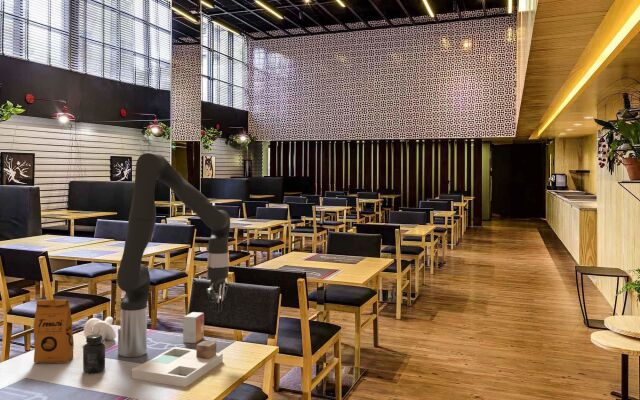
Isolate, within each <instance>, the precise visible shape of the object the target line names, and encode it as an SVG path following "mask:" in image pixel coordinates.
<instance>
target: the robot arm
mask: <svg viewBox="0 0 640 400" xmlns="http://www.w3.org/2000/svg"><path fill="white" fill-rule="evenodd" d="M134 173H135V174H134V175H135V176H134V189H133V195H132V200H131V206H130V211H129V215H128V223H127V229H126V234H125V241H124V247H123V252H122V257H121V259H120V264H119V268H118V271H117V275H116V283H117V286H118V288H119V289H120V290H121V291H123V292H125V295H124V297H122V299H121V300H120V322H119V324H120V327H119V328H118V329H117V354H118V355H120V356H121V357H123V358H137V357H141V356H143V355H145V354H147V349H148V348H147V347H148V346H147V342H148V340H147V339H148V337H147V336H148V335H147V334H148V333H147V331H148V330H147V329H148V317H147V316H148V315H147V314H148V312H147V311H148V310H147V309H148V301H149V298H150V288H151V282H150V281H151V276H150V271H149V269H148V267H147V266H146V265H145V264H142V259H143V257H144V253H145V251H146V249H147V247H148V245H149V243H150V241H151V239H152V237H153V234H154V230H155V225H156V219H157V209H156V202H155V188H156V183H157V180H158V181H160V182H161V183H163V184H164V185H166V186H167V187H168V188H169V189H171V191H172V192H173V193H174V195H175V196H176V197H177V199H178V200H180V202H181V203H183V204H184V205H185V206H186V207H187V208H188V209H189V210H190V211H192V212H193V213H194V214H196V215H197V216H198V218H200V220H201V221H202V222H203V223H204V224H205V226H207V227H208V228H210V229H211V232H210V233H211V235H210V237H209V239H208V245H207V246H208V247H207V248H208V249H207V250H208V251H207V252H208V254H207V265H206V266H207V271H206V272H207V273H206V274H207V275H206V276H207V278H208V279H210V282H209V288H206V289H205V293H206V296H207V299H208V300H209V302H210V303H212V312H213V313H214V314H218V313H220V312H222V311H223V301H224V299H226V297H227V292H228V290H229V285H230V283H229V282H227V281H226V279H228V278H229V235H230V231H231V230H230V229H231V216H230V215H229V212H227V211H226V210H223V209H217V207H215V206H214V205H213V204H212V203H211V201H210V199H209V198H208V197H206V196H205V194H203V193H202V192H201V191H200V190H198V189H197V188H196V187H195V186H193V185H192V184H191V183H189V182H188V181H187V180H186V179H185V178H184V177H183V176H182V175H181V174H180V173H178V171H177V170H176V169H175V168H174V167H173V166H172V165H171V163H170V162H169V161H168V160H167V159H166V157H165V156H164V155H162V154H160V153H156V152H144V153H142V154H140V156H138V158H137V159H136V163H135V172H134Z"/></svg>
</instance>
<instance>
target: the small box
mask: <svg viewBox="0 0 640 400" xmlns="http://www.w3.org/2000/svg"><path fill="white" fill-rule="evenodd" d="M182 319H183V320H182V321H183V322H182V323H183V326H182V327H183V328H182V343H188V344H189V343H190V344H197V343H199V341H201V340H202V338H203V337H205V332H204V329H205V313H204V312H196V311H192V312H190V313H188V314H186V315H184V316H183V318H182ZM203 339H204V338H203Z"/></svg>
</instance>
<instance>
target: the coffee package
mask: <svg viewBox="0 0 640 400" xmlns="http://www.w3.org/2000/svg"><path fill="white" fill-rule="evenodd" d="M35 304H36V306H35V312H34V315H35V316H34V321H33V341H34V342H33V346H34V353H33V363H39V364H40V363H46V364H47V363H48V364H60V363H61V364H67V363H68V362H70V361H71V360H73V359H74V350H75V349H74V347H75V345H74V343H75V342H74V332H73V318H72V314H71V313H72V312H71V306H70V302H69V299H36V303H35Z"/></svg>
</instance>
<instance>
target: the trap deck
mask: <svg viewBox="0 0 640 400" xmlns="http://www.w3.org/2000/svg"><path fill="white" fill-rule="evenodd" d="M222 363H223V353H222V352H216V355H215V356H214V357H212V358H210V359H203V358H196V349H193V348H192V349H191V348H183V347H179V346H178V347H176V346H174V347H172V348H170V349H168V350H166V351H164V352H163V353H160V354H159V355H157V356H155V357H153V358H152V359H150V360H147V361H146V362H143V363H142V364H139V365H138V366H135V367H134V368H132V369H131V379H133V380H140V381H146V382H152V383H157V384H163V385H168V386H169V385H171V386H177V387H184V388H186V387H189V385H190V384H192V383H194V382H195V381H197V380H198V379H200V378H201V377H203V376H204V375H205V374H206V373H208V372H210V371H211V370H213V369H214V368H216V367H217V366H219V365H221V364H222Z"/></svg>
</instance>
